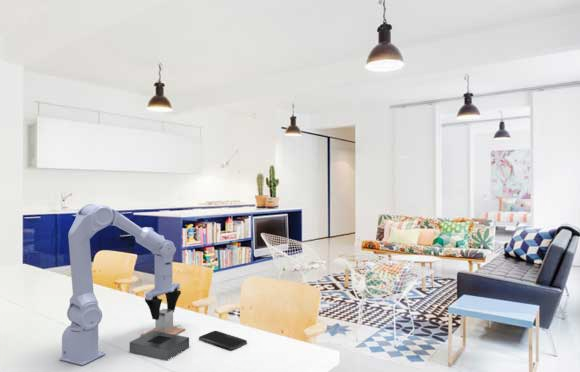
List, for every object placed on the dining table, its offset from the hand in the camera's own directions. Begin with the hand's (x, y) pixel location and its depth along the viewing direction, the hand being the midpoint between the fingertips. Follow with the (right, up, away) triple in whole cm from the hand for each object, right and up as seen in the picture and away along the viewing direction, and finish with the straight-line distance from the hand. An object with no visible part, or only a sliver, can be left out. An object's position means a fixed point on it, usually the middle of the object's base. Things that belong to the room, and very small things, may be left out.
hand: (163, 315), depth 134 cm
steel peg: (0, -5, 0) cm, 5 cm away
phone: (+21, -7, -7) cm, 23 cm away
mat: (0, -6, 0) cm, 6 cm away
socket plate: (+3, -6, -13) cm, 15 cm away
